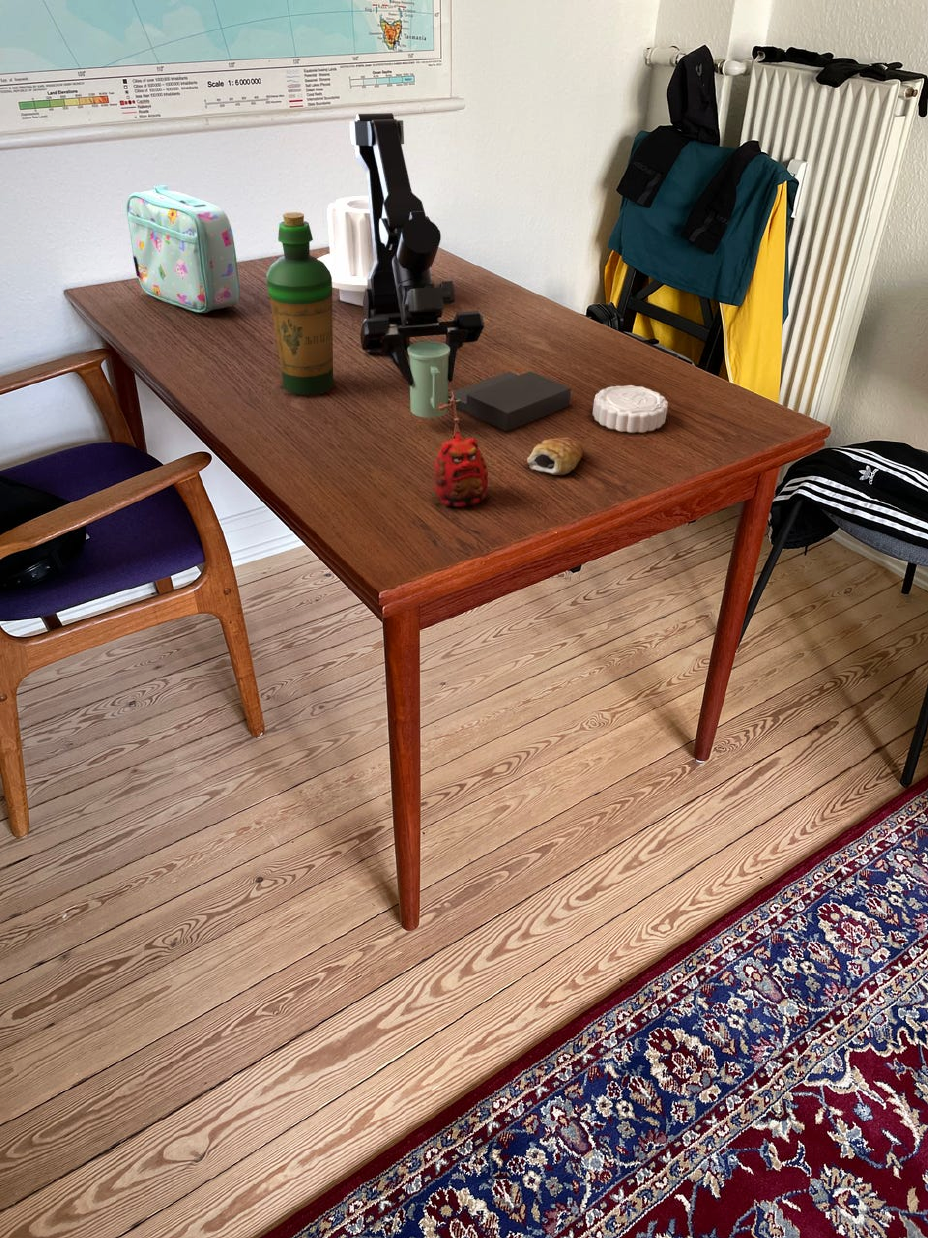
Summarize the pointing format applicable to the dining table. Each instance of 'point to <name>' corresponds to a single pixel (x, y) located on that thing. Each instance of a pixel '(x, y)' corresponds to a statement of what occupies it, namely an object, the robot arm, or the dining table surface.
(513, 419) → the step shelf
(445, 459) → the red clay folk toy
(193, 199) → the lunch box
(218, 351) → the dining table surface
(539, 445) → the pastry
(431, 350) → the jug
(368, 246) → the ribbed cylinder on disc
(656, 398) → the mooncake
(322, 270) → the bottle
